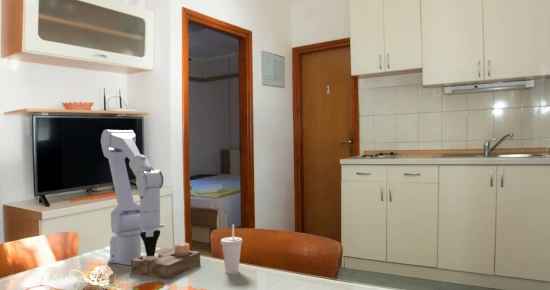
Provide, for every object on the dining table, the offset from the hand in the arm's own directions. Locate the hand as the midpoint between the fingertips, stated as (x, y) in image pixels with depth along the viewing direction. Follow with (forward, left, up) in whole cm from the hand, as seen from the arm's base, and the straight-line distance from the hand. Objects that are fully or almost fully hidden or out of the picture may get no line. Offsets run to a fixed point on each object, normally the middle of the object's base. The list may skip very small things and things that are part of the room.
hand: (150, 255), depth 117 cm
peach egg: (+7, +6, -1) cm, 9 cm away
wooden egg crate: (+3, +3, -4) cm, 6 cm away
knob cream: (0, 0, -3) cm, 3 cm away
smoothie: (+23, +8, -5) cm, 25 cm away
